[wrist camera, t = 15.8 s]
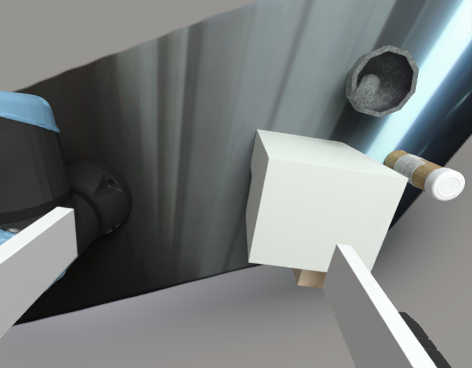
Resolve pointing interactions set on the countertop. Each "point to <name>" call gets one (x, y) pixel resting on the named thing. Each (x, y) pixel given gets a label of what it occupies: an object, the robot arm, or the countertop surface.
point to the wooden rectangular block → (309, 277)
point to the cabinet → (316, 201)
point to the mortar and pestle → (382, 81)
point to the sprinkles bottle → (426, 175)
